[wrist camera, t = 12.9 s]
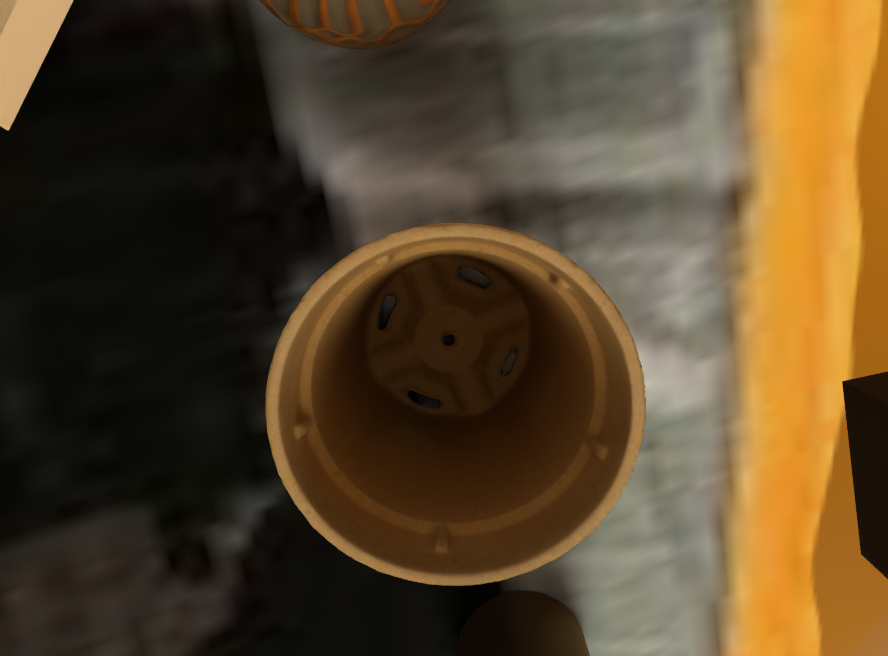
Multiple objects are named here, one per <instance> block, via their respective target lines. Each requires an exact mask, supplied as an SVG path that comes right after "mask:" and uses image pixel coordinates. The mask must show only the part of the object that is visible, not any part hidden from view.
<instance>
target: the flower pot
mask: <svg viewBox="0 0 888 656" xmlns="http://www.w3.org/2000/svg"><path fill="white" fill-rule="evenodd" d="M463 266H469V267H472V268H473V269H475V270H477V271H479V272H480V273H481V274H483V275H486V276H487V277H488V278H489V279H490V280H491V283H490V284H489V286H488V287H487V288H482V287H480V286H477V285H475V284H472V283H471V282H469V281H467V280H464V279H459V278H458V276H457V275H458V270H459V268H460V267H463ZM388 295H389V296H394V297H395V299H396V302H397V304H396V306H395V308H394V309H393V311H392V312H391V314H390V317H389V320H388V324H387V326H386V328H385V329H380V328H378V327H379V323H380V321H379V316H380V312H381V309H382V305H383V302H384V299H385V298H386V296H388ZM447 335H453V336H454V338H455V342H454V343H453V344H452V345H445V344H444V342H443V337H444V336H447ZM510 349H517V350H518V352H517V354H516V358H515V360H514V363H513V365H512V368H511V369H510V371H509V372H508V373H507V374H506V375H503V376H502V375H501V374H500V371H501V370H502V367H503V365H504V361H503V357H504V359H505V358H506V357H507V356H508V354H509V352H510ZM409 390H413V391H414V392H417V393H419V394H422V395H425V396H427V397H430V398H433V399H437V400H440V402H441V404H440V406H439V407H437V408H436V407H425V406H423V405H420V404H417V403H415V402H413V401H412V400H411V399H410V398H409V396H408V391H409ZM645 410H646V398H645V385H644V377H643V372H642V366H641V363H640V360H639V357H638V352H637V349H636V345H635V343H634V340H633V338H632V335H631V333H630V331H629V329H628V327H627V325H626V323H625V321H624V320H623V318H622V316H621V314H620V312H619V310H618V309H617V307H616V306H615V304H614V303H613V302H612V300H611V299H610V297H609V296H608V295H607V294H606V293H605V291H604V290H603V289H602V288H601V287H600V285H599V284H598V283H597V282H596V281H595V280H594V279H593V278H592V277H591V276H590V275H589V274H588V273H586V272H585V271H584V270H583V269H582V268H581V267H579V266H578V265H577V264H576V263H575V262H573V261H572V260H571V259H569V258H568V257H566V256H564V255H563V254H561V253H560V252H559V251H557V250H555V249H553V248H551V247H550V246H548V245H546V244H544V243H542V242H540V241H538V240H536V239H533V238H531V237H529V236H526V235H523V234H520V233H518V232H515V231H512V230H508V229H504V228H500V227H496V226H489V225H483V224H474V223H449V222H447V223H435V224H427V225H422V226H417V227H413V228H409V229H405V230H401V231H398V232H395V233H392V234H389V235H387V236H384V237H381V238H379V239H377V240H374V241H372V242H370V243H368V244H366V245H364V246H362V247H361V248H359V249H357V250H355V251H354V252H352V253H350V254H349V255H347V256H346V257H345V258H343V259H342V260H340V261H339V262H338V263H337V264H335V265H334V266H333V267H332V268H330V269H329V270H328V271H327V272H326V273H324V274H323V275H322V276H321V277H320V278H319V279H318V280H317V281H316V282H315V283H314V284H313V286H312V287H311V288H310V289H309V290H308V292H307V293H306V294H305V295H304V297H303V298H302V299H301V301H300V302H299V304H298V306H297V307H296V308H295V310H294V311H293V313H292V315H291V316H290V318H289V320H288V322H287V325H286V326H285V328H284V330H283V331H282V335H281V336H280V338H279V341H278V344H277V347H276V349H275V352H274V356H273V360H272V363H271V366H270V371H269V375H268V381H267V388H266V420H267V432H268V438H269V441H270V446H271V450H272V455H273V458H274V460H275V464H276V467H277V470H278V474H279V476H280V478H281V479H282V480H283V484H284V486H285V487H286V489H287V491H288V493H289V494H290V496H291V497H292V499H293V501H294V503H295V504H296V506H297V507H298V508H299V510H300V511H301V512H302V513H303V515H304V516H305V517H306V518H307V520H308V521H309V523H310V524H311V525H312V527H313V528H314V529H316V530H317V531H318V532H319V533H320V534H321V535H323V536H324V537H325V538H326V539H327V540H328V541H329V542H330V543H332V544H333V545H334V546H336V547H337V548H338V549H339V550H340V551H342V552H344V553H345V554H346V555H348V556H350V557H352V558H353V559H354V560H356V561H359V562H361V563H363V564H365V565H367V566H369V567H371V568H373V569H376V570H377V571H381V572H382V573H386V574H389V575H392V576H395V577H399V578H403V579H406V580H410V581H415V582H420V583H426V584H435V585H452V586H463V585H464V586H465V585H475V584H484V583H491V582H494V581H501V580H506V579H508V578H511V577H515V576H518V575H521V574H524V573H526V572H528V571H532V570H534V569H536V568H538V567H540V566H542V565H544V564H546V563H548V562H551V561H553V560H555V559H556V558H558V557H559V556H562V555H563V554H565V552H567V551H568V550H570V549H571V548H573V547H574V546H575V545H577V544H578V543H579V542H580V541H582V540H583V539H584V538H586V537H587V535H588V534H589V533H590V532H591V531H592V530H594V529H595V528H596V527H597V525H598V524H600V523H601V521H602V520H603V518H604V517H605V516H606V515H607V514H608V513H609V511H610V509H611V508H612V507H613V505H614V504H615V503H616V501H617V500H618V499H619V497H620V496H621V494H622V491H623V489H624V487H625V486H626V484H627V482H628V480H629V479H630V477H631V473H632V471H633V466H634V463H635V462H636V460H637V455H638V451H639V449H640V446H641V441H642V436H643V430H644V424H645Z"/></svg>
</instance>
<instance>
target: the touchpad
mask: <svg viewBox="0 0 888 656" xmlns="http://www.w3.org/2000/svg"><path fill="white" fill-rule="evenodd" d="M72 2H73V0H0V126H1V127H3V128H4V129H6V130H8V131H9V129H10V127H11V125H12V123H13V121H14V119H15V117H16V115H17V113H18V111H19V109H20V107H21V105H22V103H23V101H24V99H25V97H26V95H27V93H28V91H29V89H30V87H31V85H32V83H33V81H34V79H35V77H36V75H37V73H38V71H39V69H40V67H41V65H42V63H43V61H44V59H45V57H46V55H47V53H48V51H49V49H50V47H51V45H52V43H53V41H54V39H55V37H56V35H57V33H58V31H59V29H60V26H61V24H62V22H63V20H64V18H65V16H66V14H67V12H68V10H69V8H70V6H71V4H72Z"/></svg>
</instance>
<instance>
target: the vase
mask: <svg viewBox="0 0 888 656" xmlns="http://www.w3.org/2000/svg"><path fill="white" fill-rule="evenodd" d="M260 1H261V3H262V4H263V5H264V6H265V7H266V8H267V9H268V10H269V11H270V12H271V13H272V14H274V15H275V16H276V17H277V18H278V19H280V20H281V21H282V22H284V23H285V24H286V25H288V26H289V27H291V28H292V29H294V30H295V31H297V32H299V33H301V34H303V35H304V36H306V37H309V38H311V39H313V40H316V41H319V42H322V43H324V44H328V45H332V46H336V47H342V48H351V49H365V48H374V47H380V46H384V45H388V44H391V43H394V42H397V41H399V40H402V39H404V38H406V37H408V36H410V35H412V34H413V33H415V32H416V31H418V30H420V29H421V28H422V27H424V26H425V25H426V24H428V23H429V22H430V21H431V20H432V19H433V18H434V17H435V16H436V15H437V14H438V13H439V12H440V11H441V10H442V9H443V7H444V6H445V5H446V4H447V2H448V1H449V0H260Z"/></svg>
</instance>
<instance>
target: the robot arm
mask: <svg viewBox="0 0 888 656" xmlns="http://www.w3.org/2000/svg"><path fill="white" fill-rule="evenodd" d="M842 383H843V392H844V401H845V410H846V420H847V429H848V438H849V447H850V457H851V466H852V475H853V484H854V493H855V502H856V512H857V521H858V529H859V539H860V549H861V555H863V556H864V557H865V558H866V559H867V560H868V561H869V562H870V563H871V564H872V565H873V566H874V567H875V568H876V569H878V570H879V571H880V572H881V573H882V574H883V575H884V576H885V577H886V578H887V579H888V372H884V373H879V374H875V375H870V376H865V377H860V378H856V379H851V380H847V381H842Z"/></svg>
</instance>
